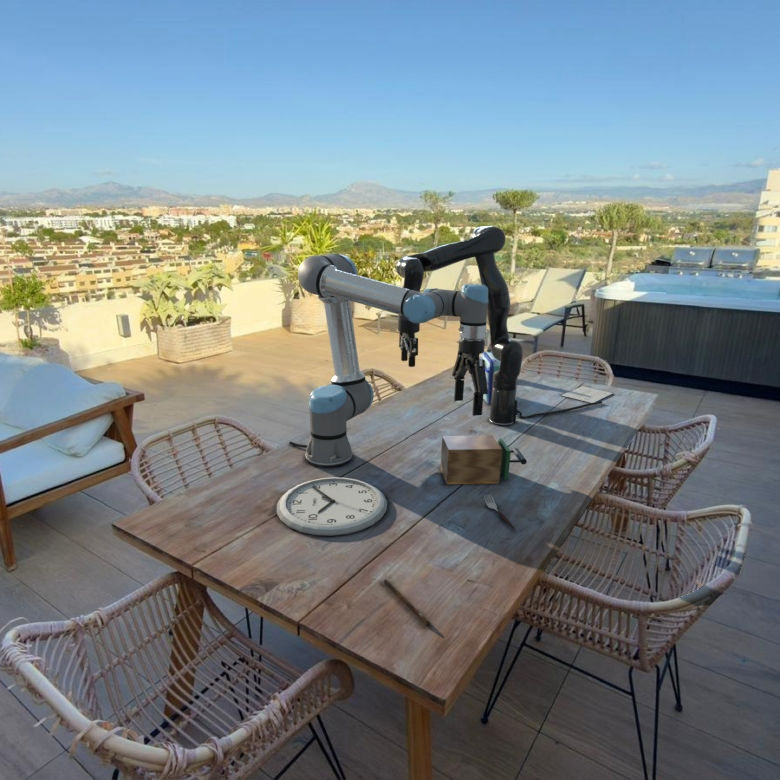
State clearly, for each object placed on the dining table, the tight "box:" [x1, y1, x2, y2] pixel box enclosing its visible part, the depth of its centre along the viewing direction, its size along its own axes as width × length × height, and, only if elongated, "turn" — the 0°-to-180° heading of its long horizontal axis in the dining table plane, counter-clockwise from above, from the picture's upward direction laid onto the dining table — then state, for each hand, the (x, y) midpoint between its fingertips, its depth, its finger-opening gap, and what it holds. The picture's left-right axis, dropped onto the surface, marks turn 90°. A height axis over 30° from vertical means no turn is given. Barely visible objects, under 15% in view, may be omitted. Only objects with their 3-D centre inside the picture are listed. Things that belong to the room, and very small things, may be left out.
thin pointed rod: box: [383, 578, 429, 627], centre depth 106 cm, size 15×1×1 cm, turn 34°
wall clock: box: [276, 476, 388, 537], centre depth 142 cm, size 30×2×30 cm
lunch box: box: [479, 351, 501, 406], centre depth 230 cm, size 26×11×21 cm, turn 179°
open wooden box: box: [440, 434, 502, 485], centre depth 160 cm, size 16×11×11 cm
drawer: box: [497, 438, 528, 480], centre depth 160 cm, size 20×9×9 cm, turn 94°
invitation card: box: [560, 385, 613, 404], centre depth 242 cm, size 21×1×15 cm
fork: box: [483, 493, 516, 530], centre depth 139 cm, size 3×16×2 cm, turn 15°
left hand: (467, 407), depth 158 cm, fingers open, 13 cm apart
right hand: (407, 363), depth 183 cm, fingers open, 8 cm apart
